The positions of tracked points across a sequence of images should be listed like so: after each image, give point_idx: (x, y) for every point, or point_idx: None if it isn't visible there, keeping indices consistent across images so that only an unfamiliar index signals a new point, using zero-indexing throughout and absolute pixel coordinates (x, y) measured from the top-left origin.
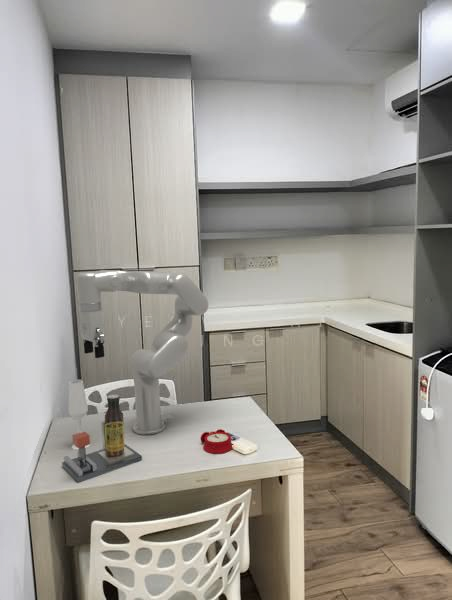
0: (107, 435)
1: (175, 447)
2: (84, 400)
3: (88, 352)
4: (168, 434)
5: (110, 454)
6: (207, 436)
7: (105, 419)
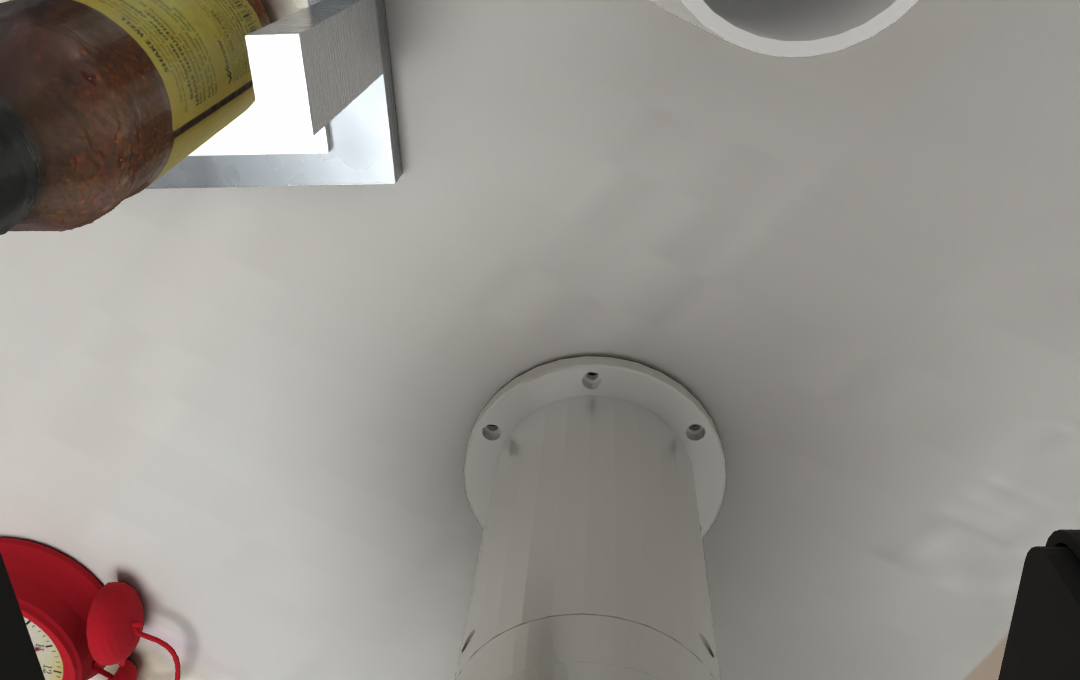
0: None
1: (166, 441)
2: None
3: (1013, 650)
4: (400, 509)
5: None
6: (46, 629)
7: (17, 14)
